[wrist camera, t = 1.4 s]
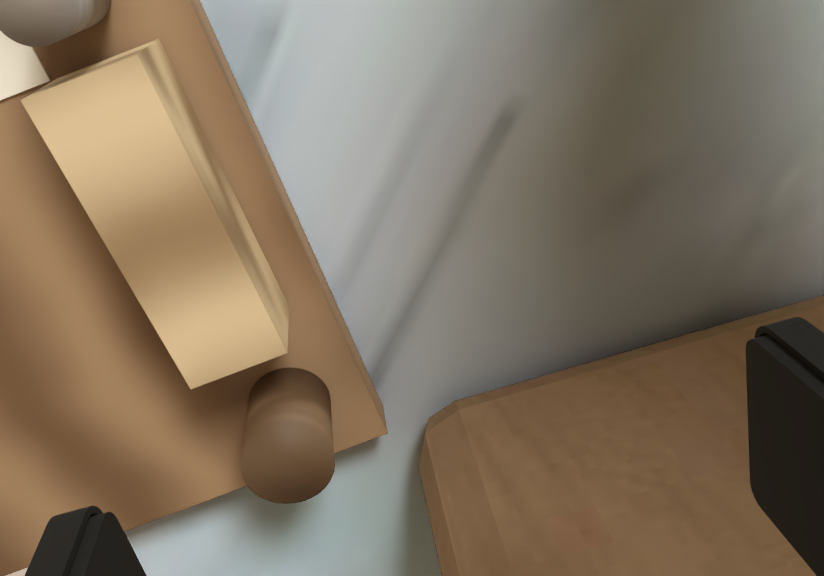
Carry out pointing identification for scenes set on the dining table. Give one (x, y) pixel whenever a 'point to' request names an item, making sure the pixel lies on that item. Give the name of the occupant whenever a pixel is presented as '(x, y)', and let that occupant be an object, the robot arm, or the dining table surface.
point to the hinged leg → (165, 211)
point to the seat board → (129, 324)
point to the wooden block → (610, 467)
